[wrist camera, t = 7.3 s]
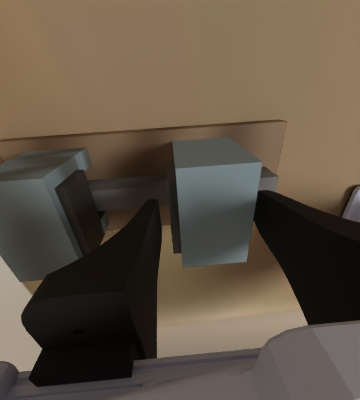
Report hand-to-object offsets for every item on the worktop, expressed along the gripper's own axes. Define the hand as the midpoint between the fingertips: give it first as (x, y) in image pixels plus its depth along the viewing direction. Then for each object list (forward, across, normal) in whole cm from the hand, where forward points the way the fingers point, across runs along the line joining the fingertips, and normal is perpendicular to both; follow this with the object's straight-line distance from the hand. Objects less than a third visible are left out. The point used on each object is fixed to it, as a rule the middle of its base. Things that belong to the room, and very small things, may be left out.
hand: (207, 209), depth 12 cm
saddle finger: (+4, 0, 0) cm, 4 cm away
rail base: (+5, +4, 0) cm, 6 cm away
